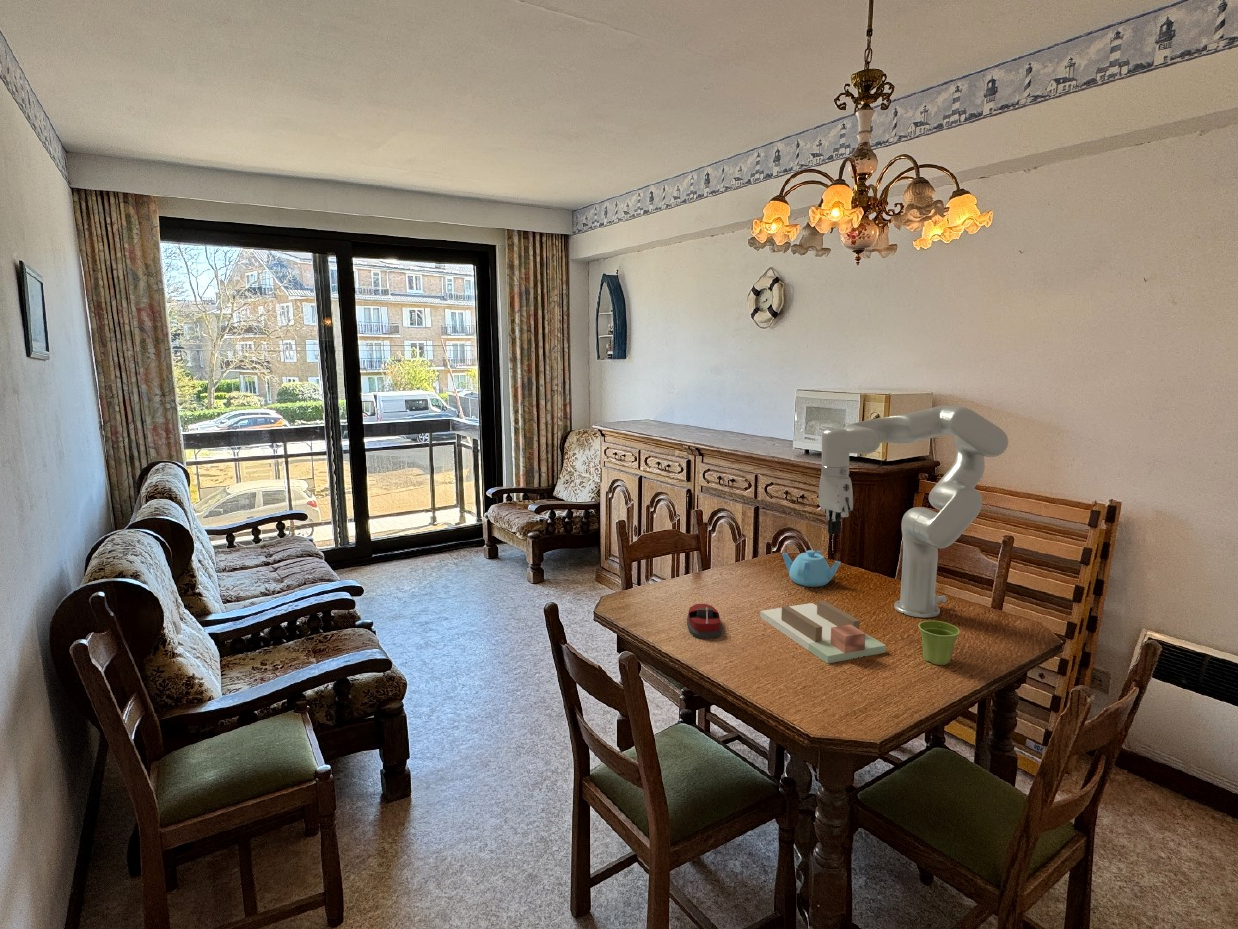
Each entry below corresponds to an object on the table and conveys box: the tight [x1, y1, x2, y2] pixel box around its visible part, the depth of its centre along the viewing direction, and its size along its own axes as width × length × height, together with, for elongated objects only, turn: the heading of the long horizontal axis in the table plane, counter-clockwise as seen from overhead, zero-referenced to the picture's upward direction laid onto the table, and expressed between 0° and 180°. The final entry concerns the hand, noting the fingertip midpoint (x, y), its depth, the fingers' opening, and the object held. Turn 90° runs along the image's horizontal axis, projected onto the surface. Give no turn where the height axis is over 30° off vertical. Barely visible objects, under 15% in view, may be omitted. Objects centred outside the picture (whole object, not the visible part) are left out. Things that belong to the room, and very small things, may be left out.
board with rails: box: [759, 600, 887, 664], centre depth 183 cm, size 18×32×6 cm, turn 19°
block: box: [830, 625, 867, 653], centre depth 170 cm, size 6×6×4 cm
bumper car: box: [686, 603, 723, 639], centre depth 188 cm, size 10×20×10 cm, turn 179°
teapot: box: [781, 549, 842, 588], centre depth 226 cm, size 15×15×11 cm
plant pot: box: [917, 620, 961, 666], centre depth 167 cm, size 9×9×9 cm
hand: (834, 533), depth 192 cm, fingers closed
